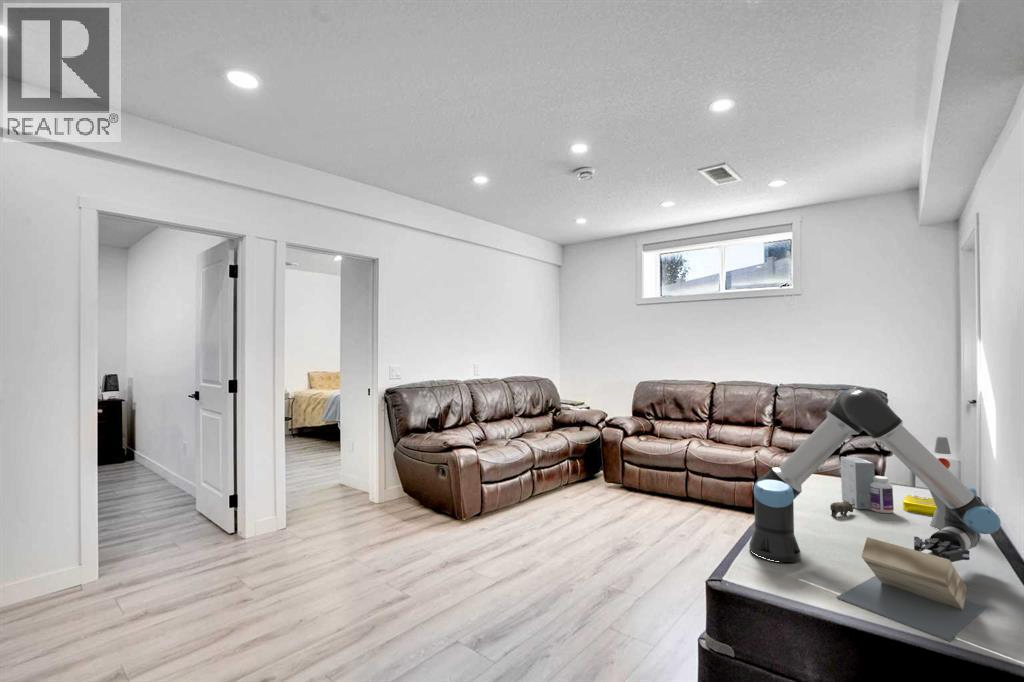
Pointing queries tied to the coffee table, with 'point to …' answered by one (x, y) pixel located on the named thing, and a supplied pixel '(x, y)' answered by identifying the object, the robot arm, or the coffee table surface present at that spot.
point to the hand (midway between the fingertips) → (920, 559)
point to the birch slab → (915, 572)
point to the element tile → (919, 505)
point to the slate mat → (912, 608)
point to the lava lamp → (938, 516)
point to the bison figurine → (841, 508)
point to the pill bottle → (881, 495)
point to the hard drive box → (857, 481)
